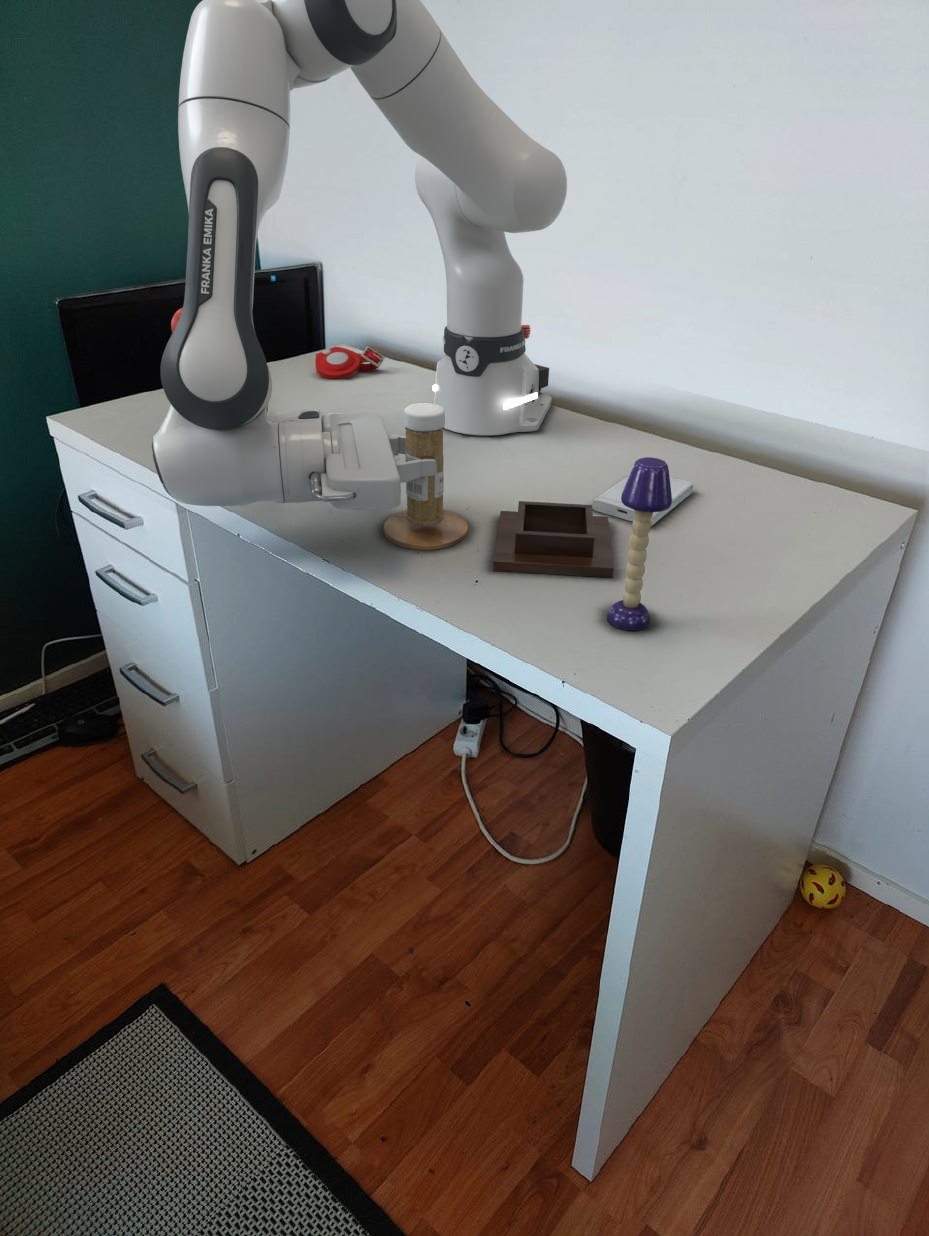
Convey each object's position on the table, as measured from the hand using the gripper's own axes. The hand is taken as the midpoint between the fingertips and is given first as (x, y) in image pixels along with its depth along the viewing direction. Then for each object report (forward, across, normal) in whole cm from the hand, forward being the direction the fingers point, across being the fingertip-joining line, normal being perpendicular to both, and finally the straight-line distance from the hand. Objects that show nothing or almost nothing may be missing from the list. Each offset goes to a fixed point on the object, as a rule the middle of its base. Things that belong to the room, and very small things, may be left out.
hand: (432, 455), depth 98 cm
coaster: (-1, 0, +9) cm, 9 cm away
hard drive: (+28, +4, +9) cm, 30 cm away
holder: (+13, -6, +9) cm, 17 cm away
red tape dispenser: (-6, +65, +10) cm, 66 cm away
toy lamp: (+17, -22, +10) cm, 30 cm away
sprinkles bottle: (-1, 0, +8) cm, 8 cm away
